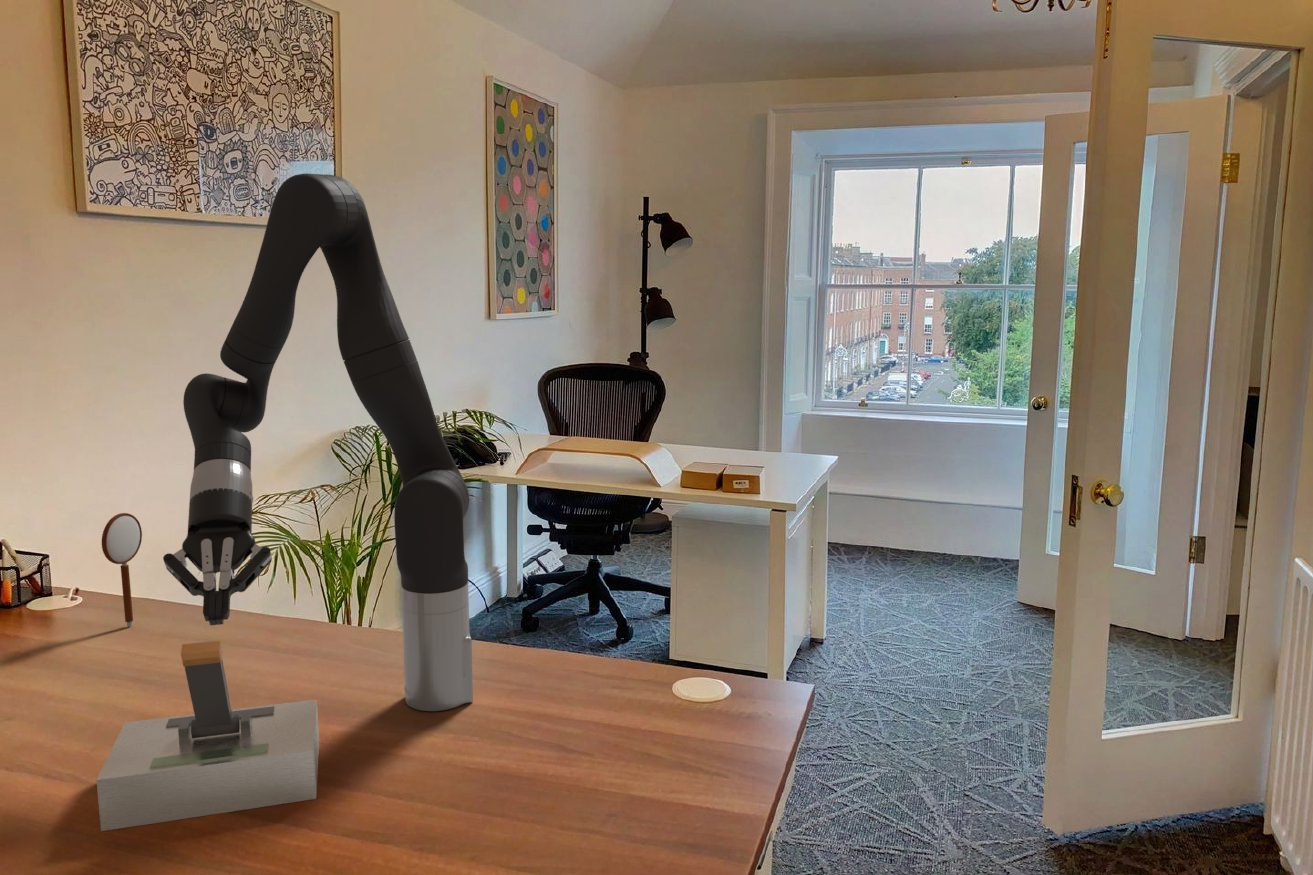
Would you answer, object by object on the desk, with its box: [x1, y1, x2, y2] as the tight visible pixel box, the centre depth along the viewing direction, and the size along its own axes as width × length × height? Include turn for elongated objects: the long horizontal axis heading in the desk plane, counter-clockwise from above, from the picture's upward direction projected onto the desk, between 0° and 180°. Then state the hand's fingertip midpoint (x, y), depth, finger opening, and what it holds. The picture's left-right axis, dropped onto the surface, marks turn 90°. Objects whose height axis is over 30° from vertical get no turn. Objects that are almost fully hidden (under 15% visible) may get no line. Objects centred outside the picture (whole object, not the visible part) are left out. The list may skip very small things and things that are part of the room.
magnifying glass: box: [101, 512, 143, 627], centre depth 160 cm, size 9×2×20 cm, turn 170°
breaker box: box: [95, 699, 320, 832], centre depth 111 cm, size 22×14×8 cm, turn 108°
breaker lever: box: [180, 640, 240, 739], centre depth 107 cm, size 5×2×15 cm, turn 108°
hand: (216, 622), depth 114 cm, fingers closed
